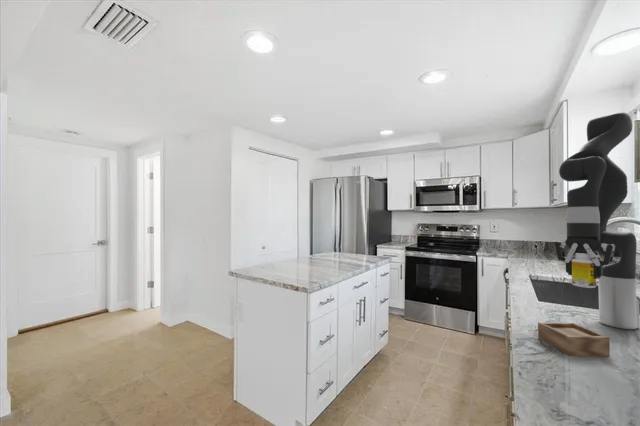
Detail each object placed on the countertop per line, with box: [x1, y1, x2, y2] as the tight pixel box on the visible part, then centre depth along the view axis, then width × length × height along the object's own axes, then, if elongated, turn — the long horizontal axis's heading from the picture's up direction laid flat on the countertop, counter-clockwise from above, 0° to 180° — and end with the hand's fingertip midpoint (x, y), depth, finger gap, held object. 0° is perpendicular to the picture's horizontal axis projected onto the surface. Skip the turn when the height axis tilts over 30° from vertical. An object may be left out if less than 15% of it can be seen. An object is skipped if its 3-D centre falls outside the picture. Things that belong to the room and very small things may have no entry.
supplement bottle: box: [571, 253, 597, 289], centre depth 86 cm, size 6×6×10 cm
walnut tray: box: [537, 321, 611, 357], centre depth 82 cm, size 11×11×5 cm
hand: (583, 276), depth 86 cm, fingers closed on supplement bottle, 5 cm apart
